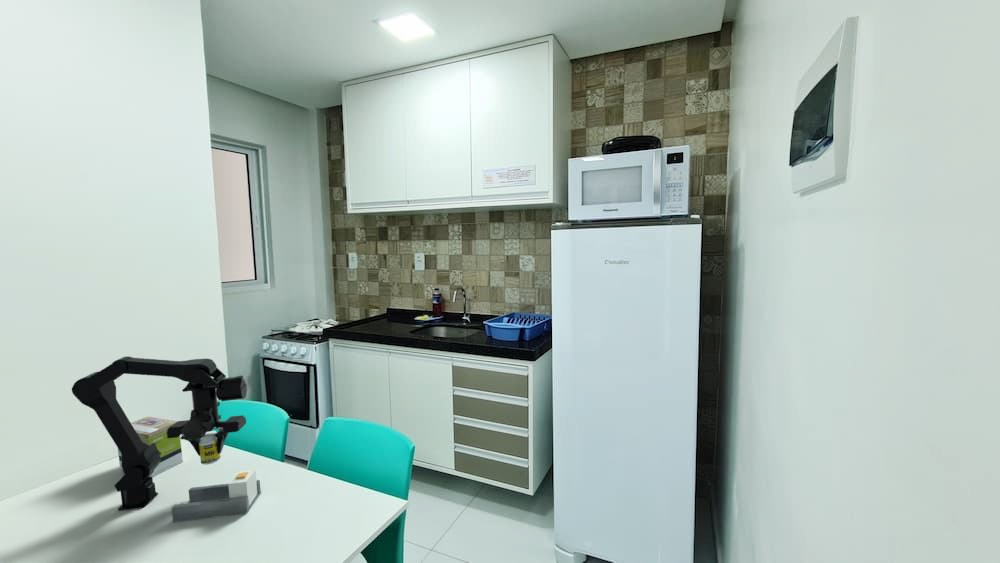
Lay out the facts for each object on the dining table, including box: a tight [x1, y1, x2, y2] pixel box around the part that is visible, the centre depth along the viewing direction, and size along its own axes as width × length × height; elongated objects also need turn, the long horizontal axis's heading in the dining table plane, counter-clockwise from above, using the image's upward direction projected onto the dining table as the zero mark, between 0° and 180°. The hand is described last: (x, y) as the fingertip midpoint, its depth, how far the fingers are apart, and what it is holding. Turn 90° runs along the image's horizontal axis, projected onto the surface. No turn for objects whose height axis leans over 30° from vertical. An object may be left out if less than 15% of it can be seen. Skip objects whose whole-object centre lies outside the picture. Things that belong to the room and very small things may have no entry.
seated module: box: [227, 469, 258, 505], centre depth 114 cm, size 4×6×8 cm
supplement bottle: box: [199, 430, 221, 466], centre depth 121 cm, size 5×5×8 cm
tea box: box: [117, 416, 184, 478], centre depth 135 cm, size 15×10×15 cm, turn 73°
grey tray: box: [171, 479, 262, 523], centre depth 113 cm, size 18×9×4 cm, turn 100°
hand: (210, 454), depth 121 cm, fingers closed on supplement bottle, 5 cm apart
